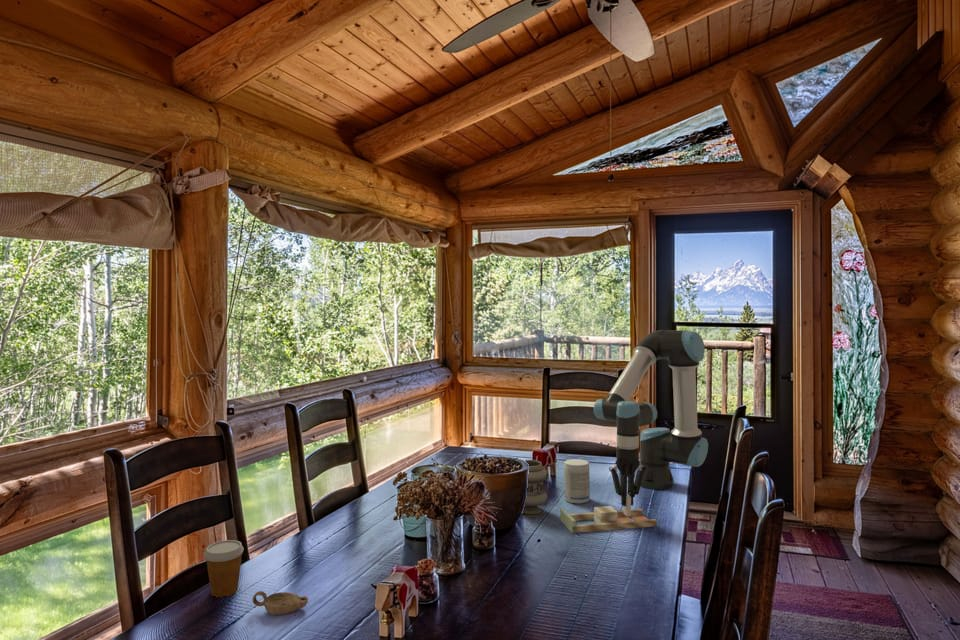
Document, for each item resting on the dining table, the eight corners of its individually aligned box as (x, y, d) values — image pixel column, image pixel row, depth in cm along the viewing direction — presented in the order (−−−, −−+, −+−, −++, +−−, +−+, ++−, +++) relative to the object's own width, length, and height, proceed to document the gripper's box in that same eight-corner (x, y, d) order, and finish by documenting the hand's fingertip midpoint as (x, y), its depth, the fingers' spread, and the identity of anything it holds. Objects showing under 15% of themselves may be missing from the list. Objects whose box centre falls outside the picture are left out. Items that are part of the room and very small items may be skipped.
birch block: (610, 520, 209) (610, 506, 209) (617, 526, 203) (617, 511, 203) (593, 521, 208) (594, 507, 208) (600, 527, 202) (600, 513, 202)
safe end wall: (563, 520, 209) (563, 508, 208) (575, 532, 197) (575, 520, 197) (560, 520, 208) (560, 509, 208) (571, 532, 197) (571, 520, 197)
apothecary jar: (508, 514, 214) (508, 464, 214) (521, 504, 225) (521, 456, 224) (539, 520, 209) (539, 468, 208) (552, 509, 219) (552, 460, 219)
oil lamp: (311, 603, 151) (311, 583, 151) (303, 619, 144) (302, 598, 144) (258, 603, 151) (258, 584, 151) (247, 619, 144) (247, 599, 143)
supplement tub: (594, 500, 230) (594, 462, 229) (579, 506, 223) (579, 466, 223) (574, 494, 237) (574, 457, 236) (558, 500, 230) (559, 461, 230)
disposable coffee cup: (232, 580, 164) (232, 536, 163) (251, 590, 158) (250, 545, 157) (197, 593, 156) (197, 547, 156) (215, 604, 150) (215, 557, 150)
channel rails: (641, 514, 214) (641, 508, 214) (656, 526, 203) (656, 520, 203) (560, 520, 208) (561, 514, 208) (572, 532, 197) (572, 526, 197)
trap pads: (642, 515, 213) (642, 515, 213) (654, 524, 204) (654, 523, 204) (614, 518, 211) (614, 517, 211) (624, 526, 202) (624, 526, 202)
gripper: (640, 443, 211) (639, 509, 212) (605, 445, 209) (605, 512, 209) (650, 448, 204) (649, 517, 205) (614, 450, 201) (614, 520, 202)
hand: (627, 514), depth 207 cm, fingers closed
